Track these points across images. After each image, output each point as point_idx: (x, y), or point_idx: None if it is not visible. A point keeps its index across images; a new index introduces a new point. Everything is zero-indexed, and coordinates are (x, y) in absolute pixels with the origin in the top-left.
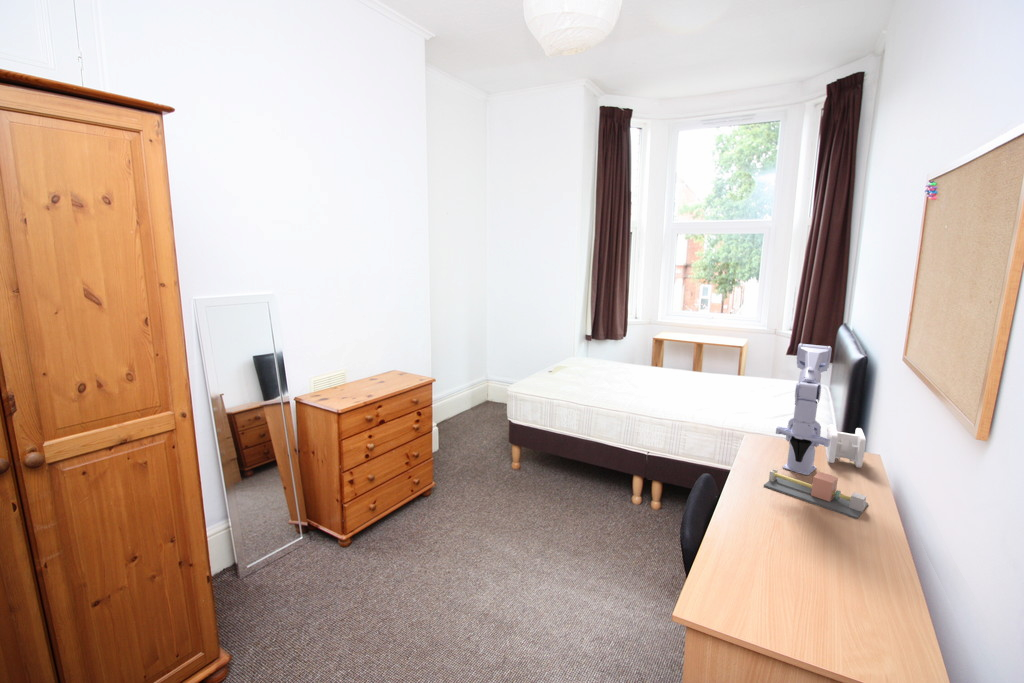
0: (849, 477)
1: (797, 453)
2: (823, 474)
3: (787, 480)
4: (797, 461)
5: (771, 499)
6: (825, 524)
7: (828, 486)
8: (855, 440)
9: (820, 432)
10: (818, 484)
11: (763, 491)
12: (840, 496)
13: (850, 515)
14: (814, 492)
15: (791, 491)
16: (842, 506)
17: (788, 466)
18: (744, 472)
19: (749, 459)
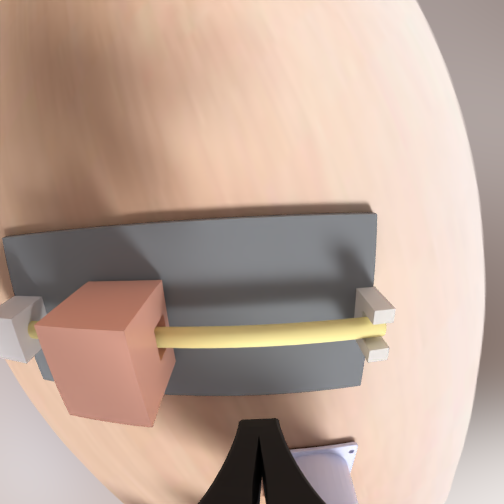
0: (177, 498)
1: (268, 472)
2: (117, 405)
3: (296, 323)
4: (261, 420)
5: (288, 94)
6: (50, 84)
7: (63, 313)
8: None
9: None
10: (108, 311)
11: (353, 152)
12: None
13: (18, 236)
14: (141, 288)
15: (247, 253)
16: (55, 286)
17: (340, 457)
18: (467, 288)
19: (459, 405)
